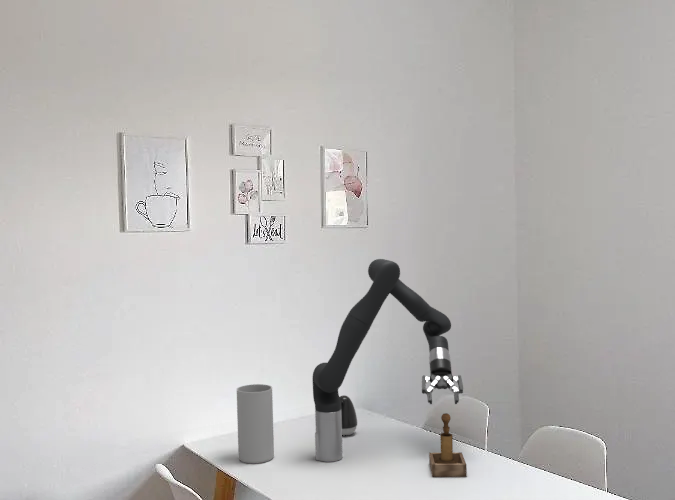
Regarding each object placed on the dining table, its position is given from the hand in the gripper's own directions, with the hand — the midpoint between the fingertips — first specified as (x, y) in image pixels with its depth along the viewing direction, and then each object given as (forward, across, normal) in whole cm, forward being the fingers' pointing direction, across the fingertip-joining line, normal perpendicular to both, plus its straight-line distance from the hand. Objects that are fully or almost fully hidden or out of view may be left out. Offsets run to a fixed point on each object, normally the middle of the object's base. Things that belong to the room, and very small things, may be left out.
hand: (443, 403), depth 235 cm
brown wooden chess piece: (+20, 0, +7) cm, 21 cm away
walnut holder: (+21, 0, +8) cm, 22 cm away
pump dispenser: (-8, -36, +37) cm, 52 cm away
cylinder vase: (+12, -66, +17) cm, 69 cm away
